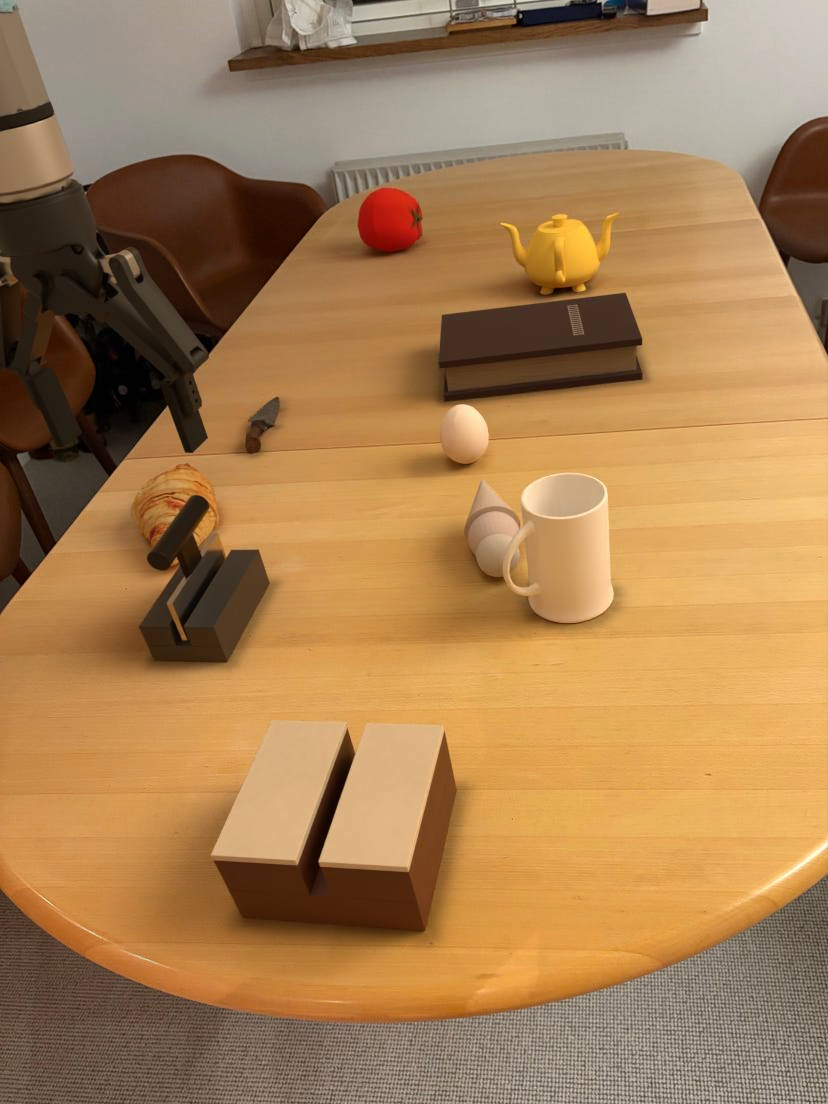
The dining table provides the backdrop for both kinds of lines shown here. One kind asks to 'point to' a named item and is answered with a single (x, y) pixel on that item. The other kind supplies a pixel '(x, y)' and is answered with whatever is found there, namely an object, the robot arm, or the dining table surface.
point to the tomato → (389, 220)
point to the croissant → (173, 503)
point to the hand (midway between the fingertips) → (131, 443)
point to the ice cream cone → (491, 531)
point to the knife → (261, 424)
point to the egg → (464, 434)
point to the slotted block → (209, 612)
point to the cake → (340, 825)
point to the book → (539, 347)
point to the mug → (565, 547)
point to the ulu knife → (188, 560)
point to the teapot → (561, 253)
